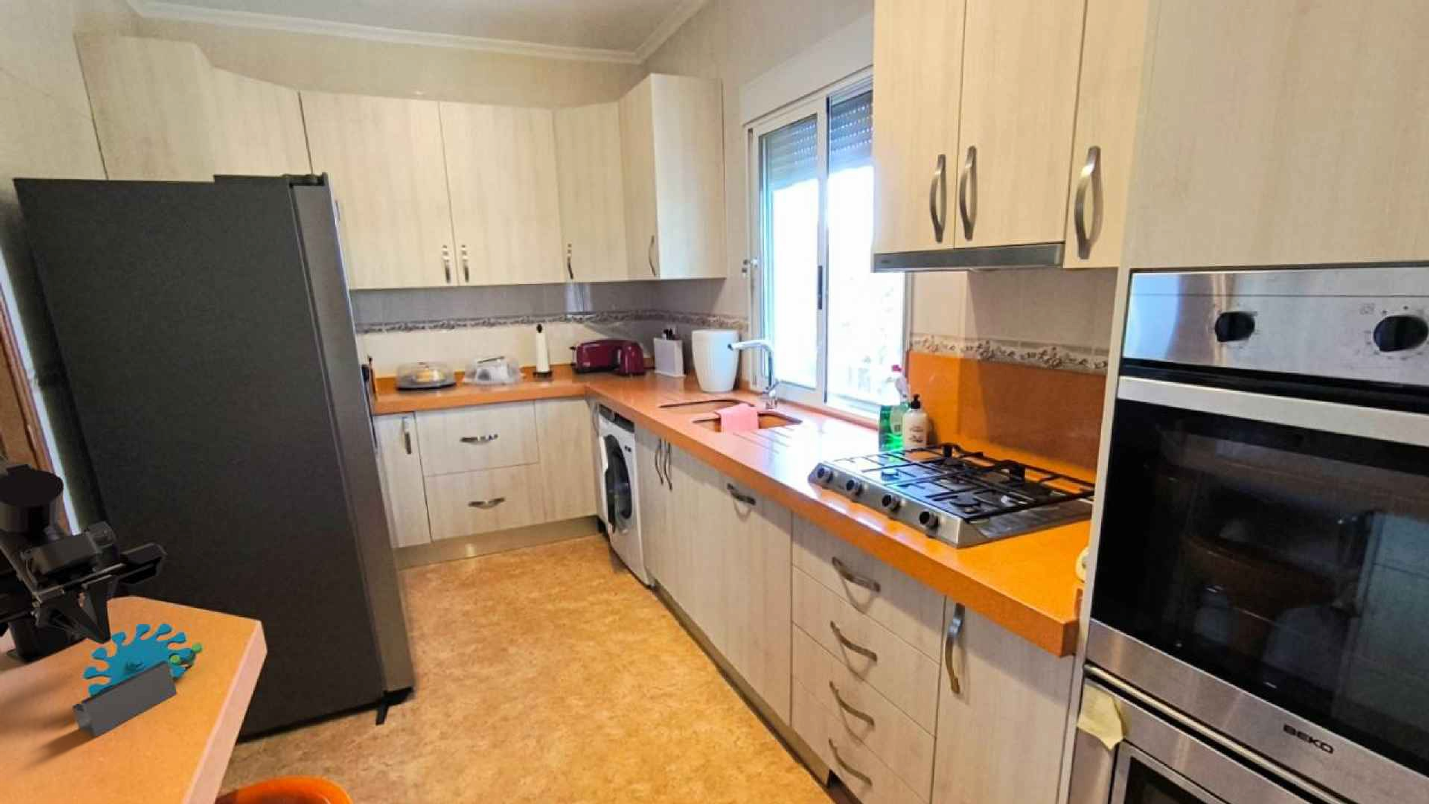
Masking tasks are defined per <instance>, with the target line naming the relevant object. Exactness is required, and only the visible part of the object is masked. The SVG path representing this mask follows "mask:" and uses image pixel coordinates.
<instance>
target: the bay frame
mask: <svg viewBox="0 0 1429 804" xmlns="http://www.w3.org/2000/svg"><path fill="white" fill-rule="evenodd" d="M173 678H174V677H173V675H172V670H171V669H170V667H169V664H168V662H166V661H162V662H160V663H158V664H156V665H154V666H152V667H150V668H148V669H146V670H143V671H141V672H139V673H137V674H135V675H133V676H131V677H129V678H127V679H125V680H123V681H121V682H119V683H117V684H115V685H113V686H111V687H109V688H107V689H105V690H103V691H101V692H99V693H97V694H95V695H93V696H88V697H87V698H85V699H83V700H81V701H80V703H79V702H78V703H76V704H73V705H72V706H71V708H72V711H73V713H74V718H75V721H76V724H77V727H78V729H79V730H81V731H82V732H85V733H86V734H88V735H90V736H92V737H93V738H98V737H100V736H102V735H105V733H107V732H109V731H111V730H113V729H114V728H117V727H119V726H120V725H121V724H124V723H125V722H128V721H129V720H132V719H134V717H137V716H139V715H140V714H143V713H145V712H146V711H148V710H149V709H152V708H154V707H156V706H157V705H159V704H161V703H163V702H164V701H166V700H168V699H170V698H172V697H173V696H176V695H178V692H177V689H176V685H175V682H174V679H173Z"/></svg>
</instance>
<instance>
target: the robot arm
mask: <svg viewBox="0 0 1429 804" xmlns="http://www.w3.org/2000/svg"><path fill="white" fill-rule="evenodd" d="M64 486H65V484H64V481H63V479H62V478H61V477H60V476H57V474H55V473H52V472H50V471H45V470H42V469H37V468H36V467H35V466H33V465H31V464H30V463H27V462H23V461H21V462H19V461H17V462H16V461H9V460H7V458H6V457H5V456H4V455H2V453H1V451H0V638H2V637H4V635H5V634H6V633H7V632H8V630H9V632H10V636H11V638H12V641H13V645H14V648H11V649H9V650H7V651H6V652H5V653H6V655H7V657H10V658H12V659H14V660H17V661H19V662H20V663H22V664H29V663H32V662H35V661H37V660H39V659H42V658H44V657H46V656H48V655H51V654H53V653H56V652H58V651H60V650H63V649H65V648H67V647H70V646H72V645H74V644H77V643H79V642H81V641H83V640H85V639H87V640H90V641H93V642H95V643H98V644H100V645H105V644H106V643H109V642H110V641H111V640H112V639H111V636H112V634H111V625H110V619H109V611H108V602H109V601H110V600H112V599H113V596H114V594H115V590H116V587H117V584H118V582H119V583H120V584H121V585H122V586H128V587H134V586H136V585H138V584H142V583H144V582H147V581H150V580H151V579H154V578H156V577H158V576H159V575H160V574H161V571H162V569H163V567H164V564H165V561H166V558H167V555H168V553H167V552H166V551H165V549H164V548H163V546H162V545H160V544H157V543H154V542H149V543H146V544H143V545H140V546H138V547H134V548H131V549H129V550H126V551H123V552H120V554H119V557H118V561H117V564H114V565H112V566H108V567H106V568H104V569H101V570H98V571H95V569H94V568H96V567H98V566H99V563H100V559H98V557H97V556H98V555H102V554H103V549H105V548H108V547H111V546H113V544H115V543H116V541H117V538H116V535H115V533H114V532H113V529H112V528H111V527H110V526H109V524H108V523H107V521H105V520H104V521H100V522H96V523H93V524H90V525H88V526H86V527H85V528H84V529H83V531H82V532H81V533H77V534H74V535H73V534H71V535H69V533H68V532H67V531H66V529H65V527H63V525H62V524H61V523H60V521H59V520H61V518H62V515H63V501H64V490H65V487H64ZM80 598H82V600H83V601H82V606H81V605H80V602H79V600H78V599H80Z"/></svg>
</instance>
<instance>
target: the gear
mask: <svg viewBox="0 0 1429 804" xmlns="http://www.w3.org/2000/svg"><path fill="white" fill-rule="evenodd" d="M135 631H136V632H135V634H134V635H135V636H134V638H133V639H132V640H131V641H130V643H128V644H126V645H124V644H123V643H124V642H125V641H126V639H127V636H128V635H127V634H126V632H125V631H119V632H117V633H113V634H111V639H110V640H111V641H112V642H113V643H114V644H115V645H116V653H114V655H112V656H108V650H107V649H106V648H105V647H104V646H99V647H98V648H96V649H95V650H94V651H93V652H91V654H90V655H91V657H92V658H93V659H94V660H96V661H97V660H100V661H104V662H106V663H107V664H108V667H107V668H106V669H104V670H98V668H97V667H95V666H94V665H93V666H91V665H90V666H87V667H86V668H85V670H84V672H83V675H82V678H84V679H85V680H92V679H94V678H95V679H96V678H100V677H101V678H110V679H109V681H108V682H107V683H104V684H101V683H92V684H90V685H89V686H88V687H87V689H88V690H87V691H88V694H89V695H90V696H89V697H91V696H93V695H95V694H97V693H99V692H101V691H103V690H105V689H107V688H109V687H111V686H113V685H115V684H117V683H119V682H121V681H123V680H125V679H127V678H129V677H131V676H133V675H135V674H137V673H139V672H141V671H143V670H146V669H148V668H150V667H152V666H154V665H156V664H158V663H160V662H162V661H166V662H168V664H169V667H170V670H171V674H172V678H174V679H179V678H181V677H182V676H184V674H185V673H186V672H187V669H186V667H185V666H186V665H187V666H188V667H192V666H195V663H196V662H195V660H196V659H197V655H198V654H200V653H202V652H203V650H204V648H203V645H202V643H200V642H195V643H193V644H192V645H191V647H187V646H186V647H184V648H180V649H172V648H168V647H169V646H170V644H178V645H183V644H185V643H186V642H187V640H188V639H187V636H186V633H185V632H184V631H179V632H177V633H175V635H173V636H172V637H170V638H166V639H162V640H158V638H159V637H161V636H166V635H169V634H171V633H172V632H173V628H172V626H171V625H170V624H168V623H166V622H163V623H161V625H159V626H158V629H157V630H156V631H155V633H153V634H152V635H151V636H148V637H147V638H144V639H142V637H143V636H144V635H145V634H147V633H149V632H150V631H151V625H150V624H148V623H138V624H137V625H136V626H135Z"/></svg>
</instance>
